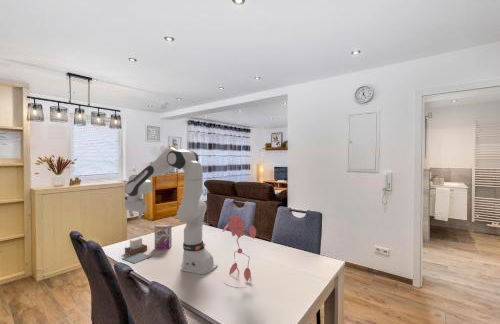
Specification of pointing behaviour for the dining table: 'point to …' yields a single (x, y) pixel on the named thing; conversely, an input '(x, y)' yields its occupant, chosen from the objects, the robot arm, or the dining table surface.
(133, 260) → the mat
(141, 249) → the wooden card holder
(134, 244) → the white upright block
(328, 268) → the dining table surface
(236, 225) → the red stick figure
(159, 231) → the candy bar box
